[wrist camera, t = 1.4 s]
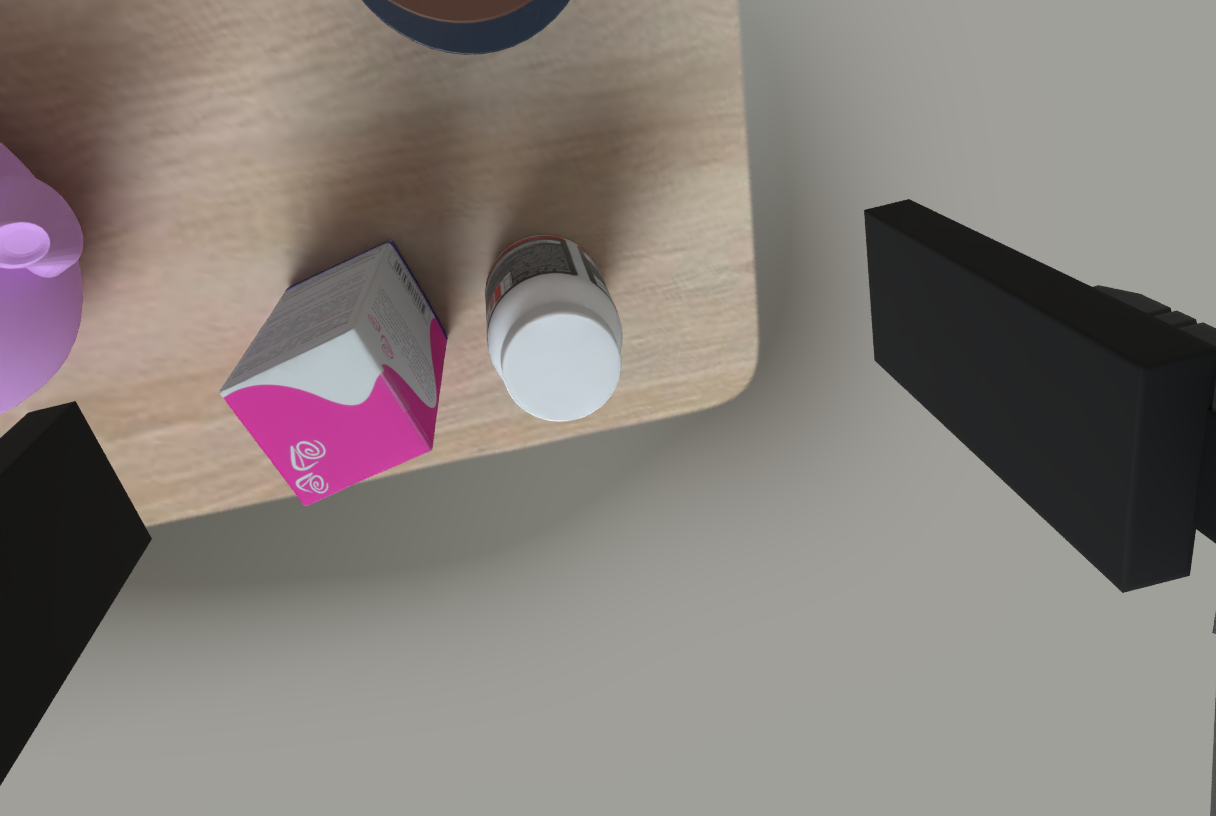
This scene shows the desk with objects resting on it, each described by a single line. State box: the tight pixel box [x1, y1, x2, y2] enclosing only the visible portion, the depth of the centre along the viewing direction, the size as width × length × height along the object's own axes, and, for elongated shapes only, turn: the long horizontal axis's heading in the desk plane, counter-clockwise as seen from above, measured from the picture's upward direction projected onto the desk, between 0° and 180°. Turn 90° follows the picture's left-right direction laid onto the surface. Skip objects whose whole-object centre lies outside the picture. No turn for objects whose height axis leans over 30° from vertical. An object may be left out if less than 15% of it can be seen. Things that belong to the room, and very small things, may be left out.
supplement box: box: [220, 240, 448, 506], centre depth 36 cm, size 6×6×12 cm
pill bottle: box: [485, 235, 622, 421], centre depth 37 cm, size 6×6×10 cm
